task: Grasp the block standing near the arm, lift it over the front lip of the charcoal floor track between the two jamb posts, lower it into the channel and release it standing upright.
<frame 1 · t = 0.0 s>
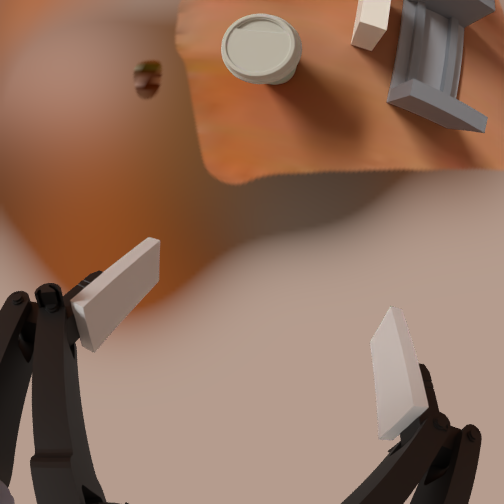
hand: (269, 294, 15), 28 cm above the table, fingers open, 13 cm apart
coffee cup: (275, 66, 33), on the table
block: (366, 20, 27), on the table
track: (429, 55, 26), on the table
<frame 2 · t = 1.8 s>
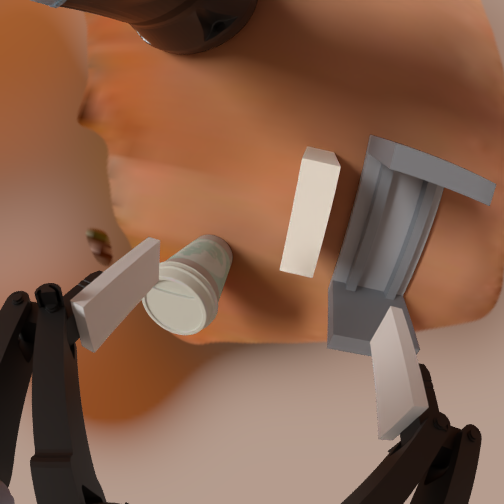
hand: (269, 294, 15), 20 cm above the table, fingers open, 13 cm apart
coffee cup: (212, 253, 38), on the table
block: (312, 191, 31), on the table
track: (388, 228, 31), on the table
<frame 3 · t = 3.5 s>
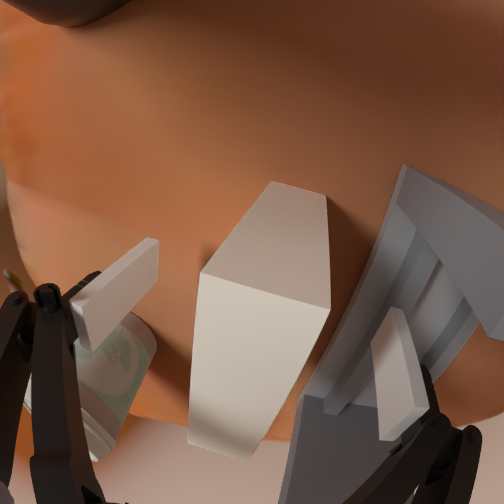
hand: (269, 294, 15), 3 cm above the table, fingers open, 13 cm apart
coffee cup: (131, 331, 24), on the table
block: (277, 266, 17), on the table
track: (407, 329, 17), on the table
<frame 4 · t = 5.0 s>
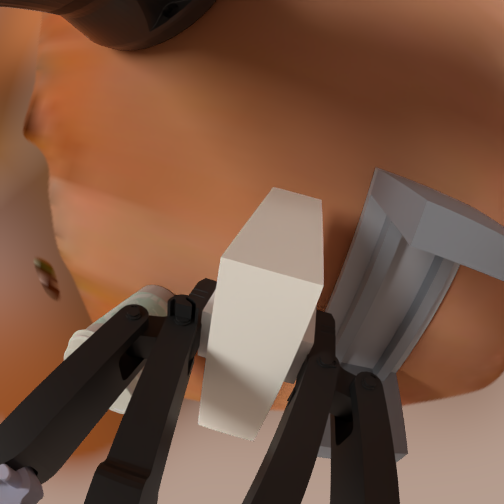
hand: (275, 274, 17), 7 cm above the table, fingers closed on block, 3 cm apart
coffee cup: (161, 306, 30), on the table
block: (278, 264, 19), point 5 cm above the table, touching gripper
track: (388, 295, 23), on the table
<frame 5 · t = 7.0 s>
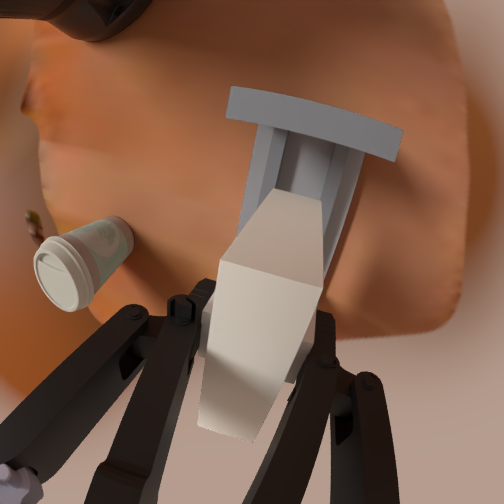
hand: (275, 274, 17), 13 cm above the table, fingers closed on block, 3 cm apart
coffee cup: (117, 236, 35), on the table
block: (278, 266, 19), point 11 cm above the table, touching gripper
track: (293, 210, 28), on the table
when the fingers open (4 cm above the table, at t = 9.1 s): block stays where it is, resting on track.
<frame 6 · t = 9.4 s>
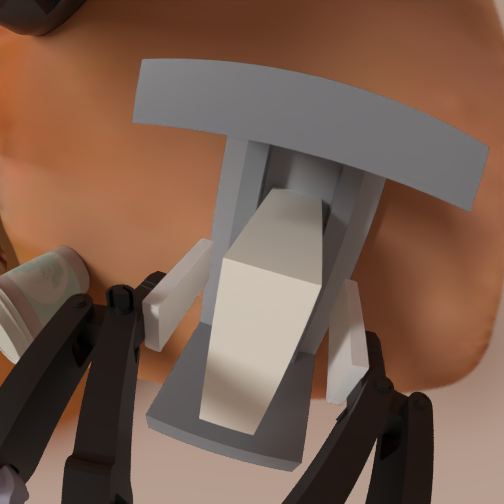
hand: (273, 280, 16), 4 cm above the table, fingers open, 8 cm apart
coffee cup: (72, 269, 27), on the table
block: (279, 262, 19), point 1 cm above the table, touching track
track: (283, 249, 20), on the table
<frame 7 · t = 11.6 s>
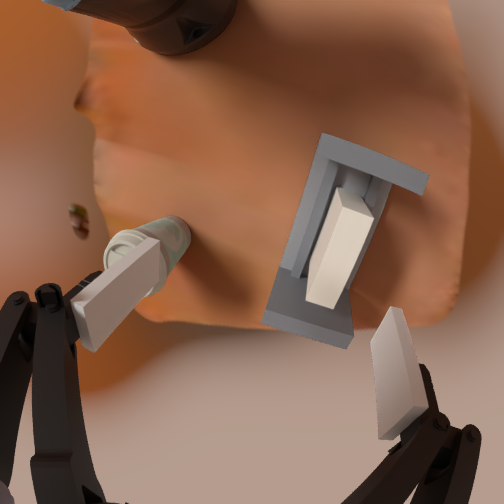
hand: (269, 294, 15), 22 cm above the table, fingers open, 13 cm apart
coffee cup: (174, 233, 41), on the table
block: (334, 227, 34), point 1 cm above the table, touching track
track: (335, 221, 35), on the table
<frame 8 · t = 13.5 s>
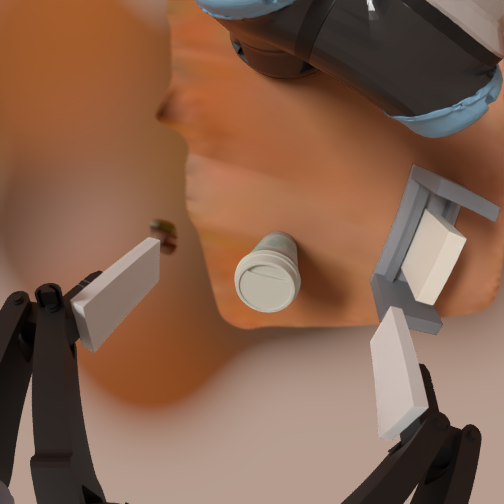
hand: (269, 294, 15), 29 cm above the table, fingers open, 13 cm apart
coffee cup: (278, 247, 46), on the table
block: (419, 239, 38), point 1 cm above the table, touching track
track: (419, 234, 39), on the table
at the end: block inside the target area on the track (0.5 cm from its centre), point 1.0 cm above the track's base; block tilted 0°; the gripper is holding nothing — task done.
